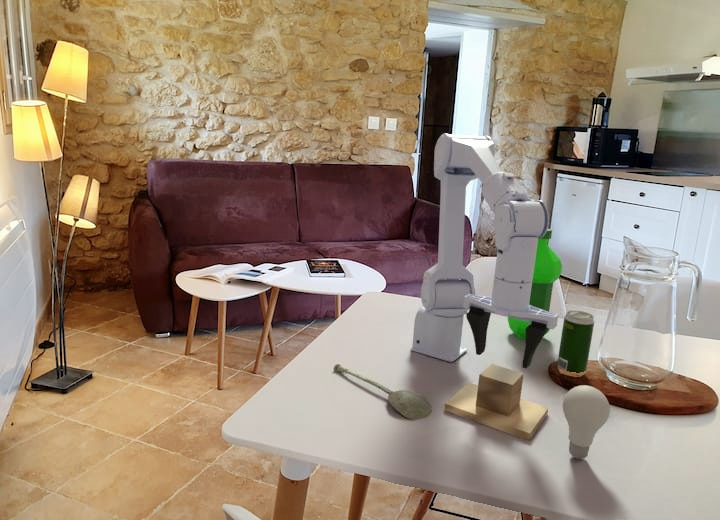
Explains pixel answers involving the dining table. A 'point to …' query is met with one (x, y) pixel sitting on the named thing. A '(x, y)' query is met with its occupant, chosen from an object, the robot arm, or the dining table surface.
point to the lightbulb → (584, 417)
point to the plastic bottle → (540, 282)
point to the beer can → (575, 341)
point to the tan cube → (499, 389)
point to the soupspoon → (399, 398)
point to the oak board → (517, 423)
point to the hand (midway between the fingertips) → (502, 359)
